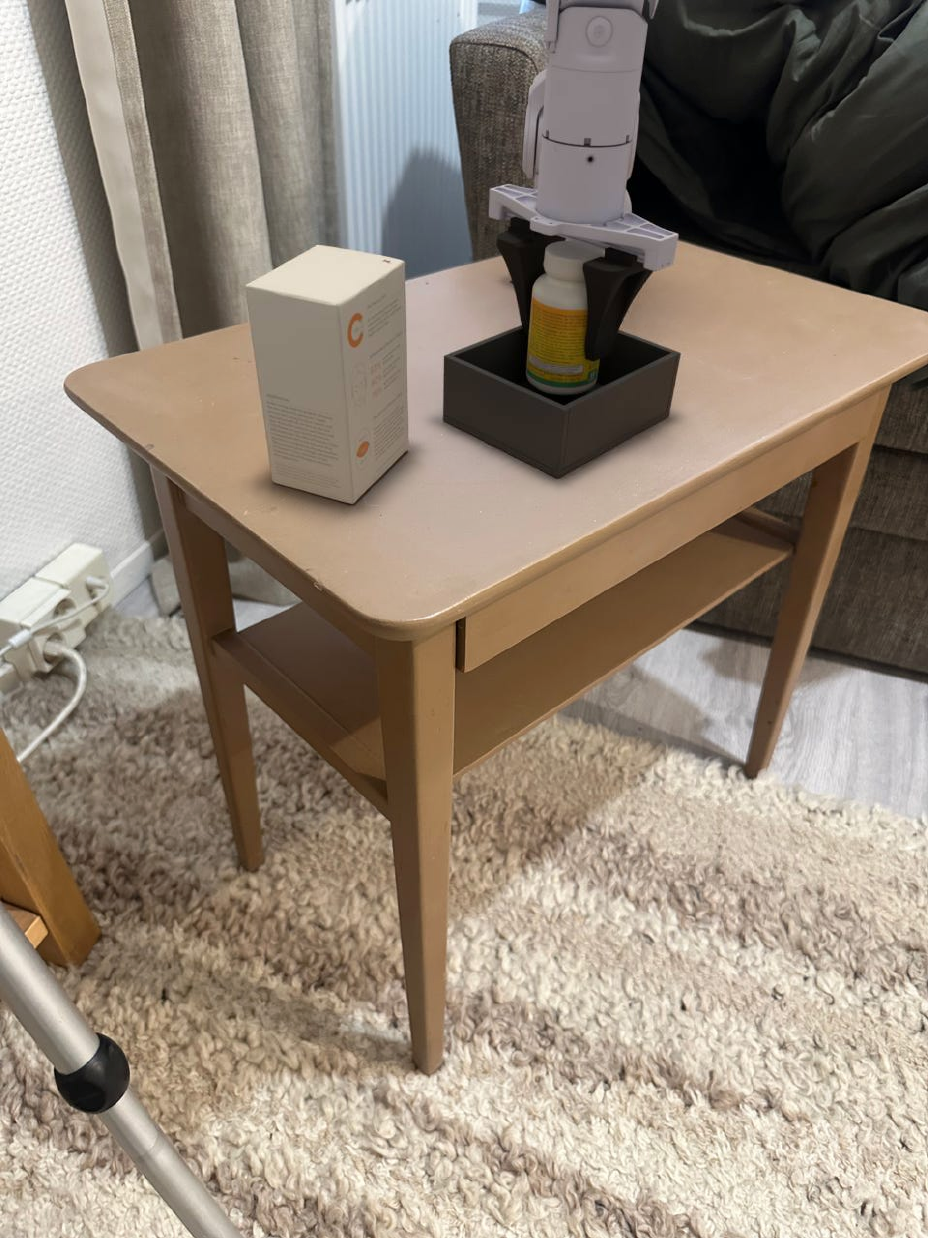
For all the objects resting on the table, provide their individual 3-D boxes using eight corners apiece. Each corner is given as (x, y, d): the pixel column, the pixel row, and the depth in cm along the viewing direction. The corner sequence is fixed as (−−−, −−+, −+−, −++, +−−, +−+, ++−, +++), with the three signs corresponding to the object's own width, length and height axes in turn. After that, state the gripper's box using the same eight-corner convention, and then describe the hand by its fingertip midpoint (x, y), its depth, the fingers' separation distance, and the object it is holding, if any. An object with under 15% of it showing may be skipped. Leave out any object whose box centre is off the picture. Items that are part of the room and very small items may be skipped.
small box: (331, 429, 64) (317, 241, 56) (411, 449, 62) (408, 258, 54) (268, 483, 59) (241, 282, 50) (352, 507, 57) (340, 303, 48)
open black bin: (556, 368, 73) (562, 308, 70) (669, 416, 67) (681, 352, 64) (442, 420, 66) (443, 355, 63) (557, 478, 60) (564, 410, 57)
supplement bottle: (527, 362, 69) (537, 233, 63) (596, 367, 69) (613, 238, 63) (523, 394, 65) (533, 259, 59) (597, 399, 65) (615, 265, 59)
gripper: (460, 123, 58) (456, 327, 67) (643, 171, 51) (610, 393, 59) (532, 109, 62) (519, 303, 71) (711, 151, 54) (672, 362, 63)
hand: (565, 343), depth 65 cm, fingers closed on supplement bottle, 5 cm apart
